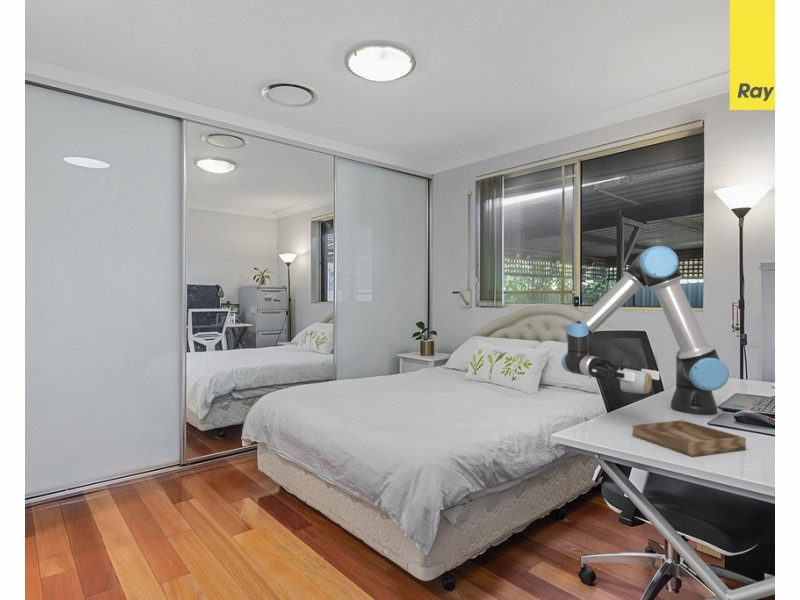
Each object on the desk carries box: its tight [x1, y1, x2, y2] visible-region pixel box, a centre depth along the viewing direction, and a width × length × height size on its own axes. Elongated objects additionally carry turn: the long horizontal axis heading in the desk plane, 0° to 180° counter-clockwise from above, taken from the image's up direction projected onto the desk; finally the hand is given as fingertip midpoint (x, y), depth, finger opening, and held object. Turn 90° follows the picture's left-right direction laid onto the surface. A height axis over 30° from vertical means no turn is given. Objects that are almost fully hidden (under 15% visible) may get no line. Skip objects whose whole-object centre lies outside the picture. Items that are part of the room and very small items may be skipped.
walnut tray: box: [632, 420, 747, 458], centre depth 136 cm, size 20×20×4 cm
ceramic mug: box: [619, 368, 653, 395], centre depth 154 cm, size 11×8×8 cm
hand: (646, 376), depth 149 cm, fingers closed on ceramic mug, 9 cm apart
